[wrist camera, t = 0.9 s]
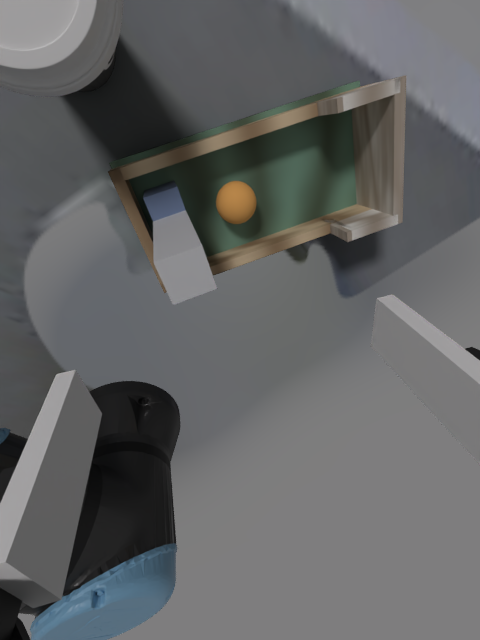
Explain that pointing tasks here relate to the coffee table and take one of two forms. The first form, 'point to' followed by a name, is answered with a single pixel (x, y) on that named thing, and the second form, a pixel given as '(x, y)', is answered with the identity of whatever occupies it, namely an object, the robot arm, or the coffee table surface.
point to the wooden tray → (282, 174)
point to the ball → (236, 202)
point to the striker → (177, 246)
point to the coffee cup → (57, 45)
